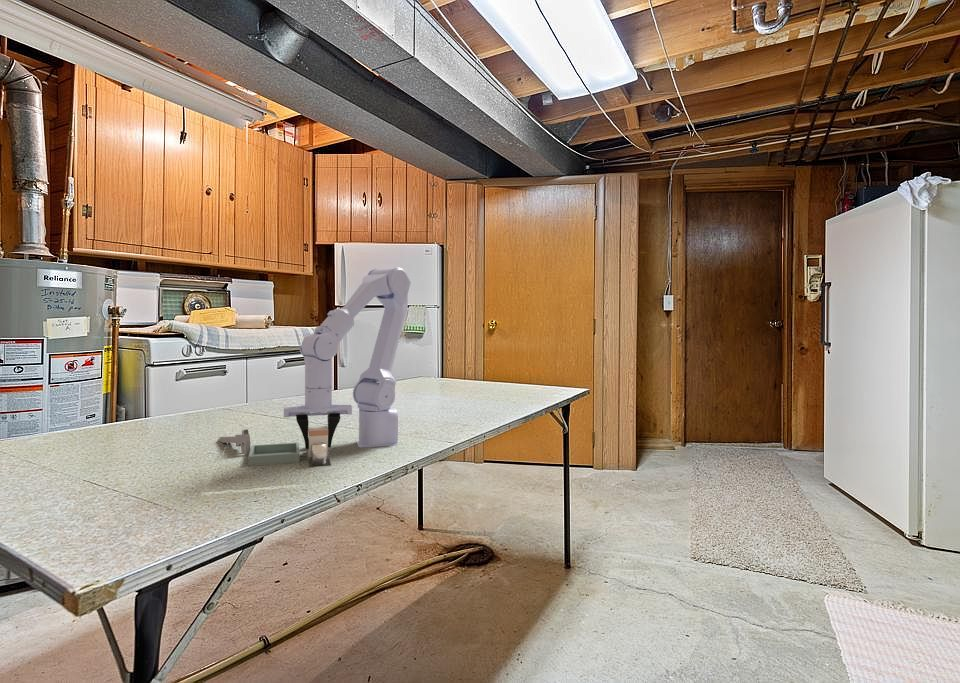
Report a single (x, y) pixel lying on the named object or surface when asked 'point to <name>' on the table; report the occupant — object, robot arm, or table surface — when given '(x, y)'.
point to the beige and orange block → (317, 436)
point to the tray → (274, 454)
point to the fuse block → (318, 455)
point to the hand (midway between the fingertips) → (318, 447)
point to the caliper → (239, 441)
